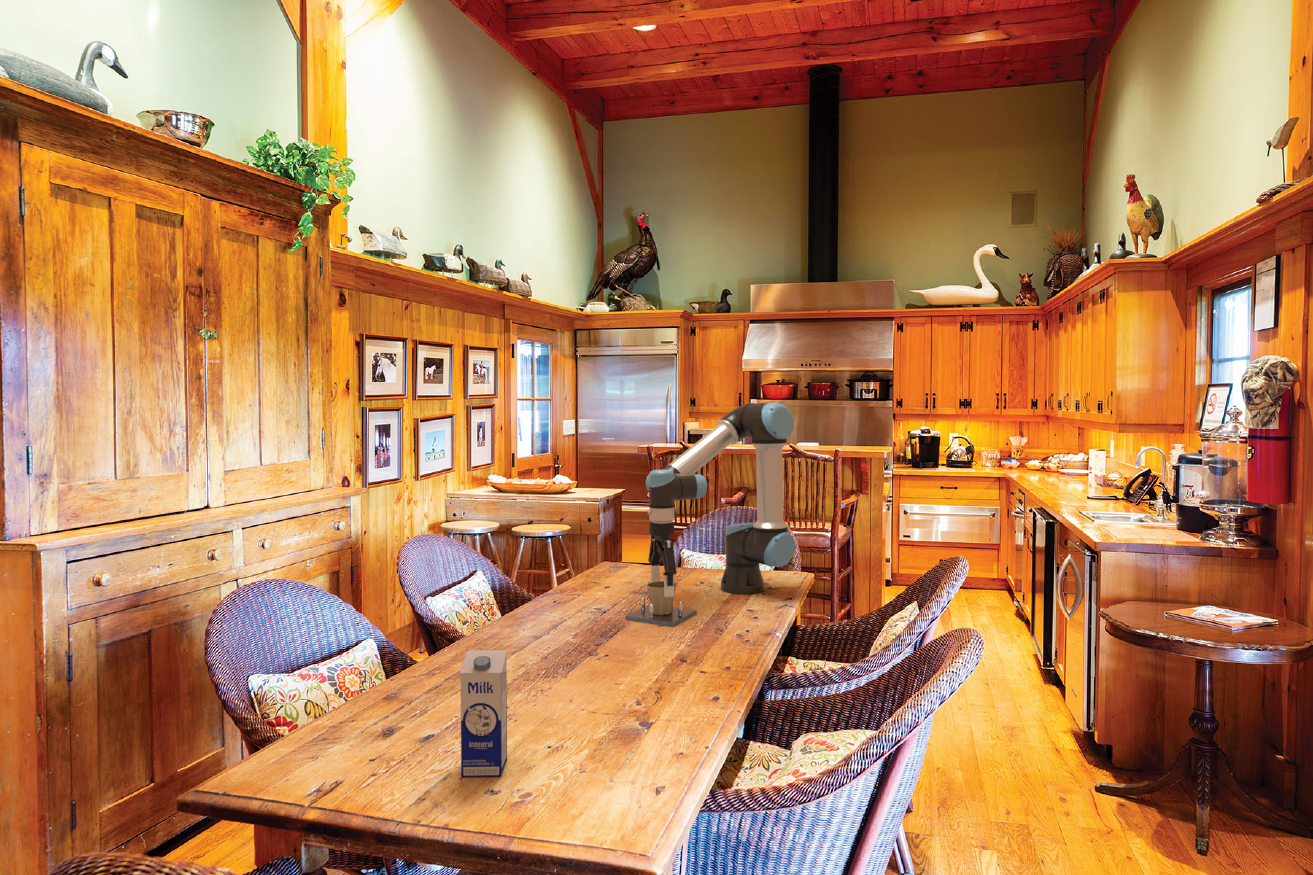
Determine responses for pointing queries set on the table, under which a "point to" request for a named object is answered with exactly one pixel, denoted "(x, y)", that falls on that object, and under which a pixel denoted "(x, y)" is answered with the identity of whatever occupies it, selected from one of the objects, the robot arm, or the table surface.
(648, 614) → the plate
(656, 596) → the flower pot
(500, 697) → the milk carton
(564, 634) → the table surface
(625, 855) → the table surface
